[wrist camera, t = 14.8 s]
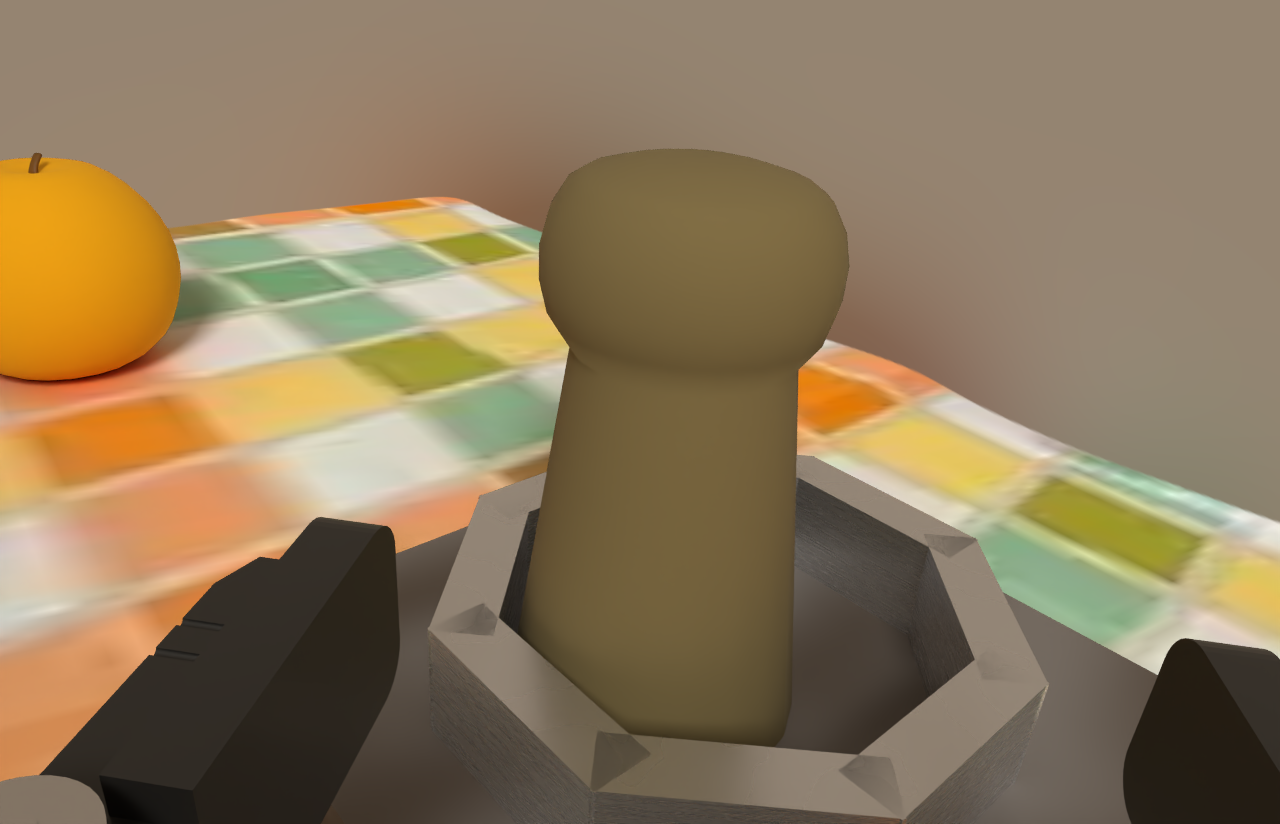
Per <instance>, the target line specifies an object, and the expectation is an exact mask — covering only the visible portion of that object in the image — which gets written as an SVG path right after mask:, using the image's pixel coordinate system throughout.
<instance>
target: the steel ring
mask: <svg viewBox="0 0 1280 824" xmlns="http://www.w3.org/2000/svg"><path fill="white" fill-rule="evenodd" d="M546 473H547V472H545V473H542V474H539V475H537V476H534V477H531V478H528V479H526V480H523V481H520V482H517V483H514V484H512V485H509V486H506V487H503V488H501V489H498V490H495V491H492V492H490V493H487V494H484V495H480V496H479V500H478V503H477V505H476V508H475V511H474V513H473V516H472V518H471V521H470V523H469V526H468V529H467V531H466V534H465V536H464V539H463V542H462V544H461V547H460V549H459V552H458V554H457V557H456V560H455V562H454V565H453V567H452V570H451V573H450V575H449V578H448V580H447V583H446V585H445V588H444V591H443V593H442V596H441V598H440V601H439V604H438V606H437V609H436V611H435V614H434V616H433V619H432V622H431V624H430V627H428V655H429V684H430V712H431V729H432V732H434V733H435V734H436V735H437V736H438V737H439V738H440V739H441V740H442V742H443V743H444V744H445V745H446V746H447V747H448V748H449V749H450V751H451V752H452V753H453V754H454V755H455V756H456V757H457V758H458V759H459V761H460V762H461V763H462V764H463V765H464V766H465V767H466V768H467V770H468V771H469V772H470V773H471V774H472V775H473V776H474V777H475V778H476V780H477V781H478V782H479V783H480V784H481V785H482V786H483V787H484V788H485V790H486V791H487V792H488V793H489V794H490V795H491V796H492V797H493V799H494V800H495V801H496V802H497V803H498V804H499V805H500V806H501V807H502V809H503V810H504V811H505V812H506V813H507V814H508V815H509V816H510V818H511V819H512V820H513V821H514V822H515V823H516V824H974V823H975V822H976V821H977V820H978V819H979V818H980V817H981V816H982V815H983V814H984V813H985V811H986V810H987V809H988V808H989V807H990V806H991V805H992V804H993V803H994V802H995V801H996V800H997V799H998V798H999V797H1000V796H1001V795H1002V794H1003V793H1004V792H1005V791H1006V790H1007V789H1008V788H1009V787H1010V786H1011V785H1012V784H1015V781H1016V778H1017V775H1018V773H1019V770H1020V767H1021V764H1022V761H1023V758H1024V755H1025V752H1026V750H1027V747H1028V744H1029V741H1030V738H1031V735H1032V732H1033V729H1034V727H1035V724H1036V721H1037V718H1038V715H1039V712H1040V709H1041V706H1042V704H1043V701H1044V698H1045V695H1046V692H1047V689H1048V686H1049V682H1047V680H1046V678H1045V676H1044V674H1043V672H1042V670H1041V668H1040V666H1039V664H1038V662H1037V660H1036V658H1035V656H1034V654H1033V652H1032V650H1031V648H1030V646H1029V644H1028V642H1027V640H1026V638H1025V636H1024V634H1023V632H1022V630H1021V628H1020V626H1019V624H1018V622H1017V620H1016V618H1015V616H1014V614H1013V612H1012V610H1011V608H1010V606H1009V604H1008V602H1007V600H1006V598H1005V596H1004V594H1003V592H1002V590H1001V588H1000V586H999V584H998V582H997V580H996V578H995V576H994V574H993V572H992V570H991V568H990V566H989V564H988V562H987V560H986V558H985V556H984V554H983V552H982V550H981V548H980V546H979V544H978V542H977V541H978V540H977V539H976V538H973V537H971V536H969V535H967V534H965V533H963V532H961V531H959V530H957V529H955V528H953V527H951V526H949V525H947V524H945V523H944V522H942V521H940V520H938V519H936V518H934V517H932V516H930V515H928V514H926V513H924V512H922V511H920V510H918V509H916V508H914V507H912V506H910V505H908V504H906V503H904V502H902V501H900V500H898V499H896V498H894V497H892V496H890V495H888V494H886V493H884V492H882V491H880V490H878V489H876V488H874V487H872V486H870V485H868V484H866V483H865V482H863V481H861V480H859V479H857V478H855V477H853V476H851V475H849V474H847V473H845V472H843V471H841V470H839V469H837V468H835V467H833V466H831V465H829V464H827V463H825V462H823V461H821V460H819V459H817V458H815V457H814V456H803V455H797V460H796V509H795V559H794V566H795V567H796V568H798V569H800V570H801V571H803V572H805V573H806V574H808V575H809V576H811V577H813V578H814V579H816V580H818V581H819V582H821V583H822V584H824V585H826V586H827V587H829V588H831V589H832V590H834V591H836V592H837V593H839V594H840V595H842V596H844V597H845V598H847V599H849V600H850V601H852V602H854V603H855V604H857V605H858V606H860V607H862V608H863V609H865V610H867V611H868V612H870V613H872V614H873V615H875V616H876V617H878V618H880V619H881V620H883V621H885V622H886V623H888V624H889V625H891V626H893V627H894V628H896V629H898V630H899V631H901V632H903V633H904V634H906V635H907V638H908V641H909V644H910V647H911V650H912V653H913V656H914V659H915V663H916V666H917V669H918V672H919V675H920V678H921V681H922V684H923V687H924V690H925V693H926V696H927V699H926V700H925V701H924V702H922V703H921V704H920V705H919V706H917V707H916V708H915V709H914V710H912V711H911V712H910V713H909V714H908V715H906V716H905V717H904V718H903V719H901V720H900V721H899V722H898V723H897V724H895V725H894V726H893V727H892V728H890V729H889V730H888V731H887V732H886V733H884V734H883V735H882V736H881V737H879V738H878V739H877V740H876V741H874V742H873V743H872V744H871V745H870V746H868V747H867V748H866V749H865V750H863V751H862V752H861V753H860V754H859V755H854V754H842V753H831V752H820V751H809V750H798V749H786V748H775V747H764V746H753V745H742V744H730V743H719V742H708V741H697V740H686V739H674V738H663V737H652V736H641V735H630V734H629V733H627V732H626V731H625V730H624V729H623V728H622V727H621V726H620V725H618V724H617V723H616V722H615V721H614V720H613V719H612V718H611V717H609V716H608V715H607V714H606V713H605V712H604V711H603V710H602V709H601V708H599V707H598V706H597V705H596V704H595V703H594V702H593V701H592V700H590V699H589V698H588V697H587V696H586V695H585V694H584V693H583V692H581V691H580V690H579V689H578V688H577V687H576V686H575V685H574V684H572V683H571V682H570V681H569V680H568V679H567V678H566V677H565V676H563V675H562V674H561V673H560V672H559V671H558V670H557V669H556V668H555V667H553V666H552V665H551V664H550V663H549V662H548V661H547V660H546V659H544V658H543V657H542V656H541V655H540V654H539V653H538V652H537V651H535V650H534V649H533V648H532V647H531V646H530V645H529V644H528V643H526V642H525V641H524V640H523V639H522V638H521V637H520V636H519V635H518V634H517V632H518V627H519V621H520V616H521V610H522V605H523V599H524V594H525V588H526V583H527V577H528V572H529V566H530V561H531V556H532V550H533V545H534V539H535V534H536V528H537V523H538V517H539V512H540V506H541V501H542V495H543V490H544V484H545V479H546Z"/></svg>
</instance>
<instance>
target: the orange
mask: <svg viewBox="0 0 1280 824" xmlns="http://www.w3.org/2000/svg"><path fill="white" fill-rule="evenodd" d="M41 157H42V154H40V153H34V155H33V157H32V158H18V159H10V160H3V161H0V374H3V375H7V376H12V377H17V378H22V379H27V380H62V379H75V378H80V377H86V376H91V375H97V374H100V373H104V372H107V371H110V370H114V369H117V368H119V367H121V366H123V365H126V364H128V363H130V362H132V361H134V360H135V359H137V358H139V357H141V356H142V355H144V354H145V353H146V352H148V351H149V350H150V349H151V348H152V347H153V346H154V345H155V344H156V343H157V342H158V341H159V340H160V339H161V338H162V337H163V336H164V335H165V334H166V332H167V330H168V328H169V326H170V325H171V323H172V321H173V318H174V314H175V311H176V307H177V303H178V298H179V291H180V282H181V273H180V262H179V258H178V253H177V249H176V246H175V243H174V241H173V239H172V237H171V234H170V232H169V230H168V228H167V227H166V225H165V224H164V222H163V221H162V219H161V217H160V216H159V215H158V213H157V212H156V211H155V210H154V209H153V208H152V207H151V205H149V203H148V202H147V201H146V200H145V199H144V198H143V197H141V196H140V195H139V194H138V193H137V192H136V191H135V190H133V189H132V188H131V187H130V186H129V185H127V184H126V183H125V182H123V181H122V180H121V179H119V178H117V177H116V176H114V175H113V174H111V173H110V172H108V171H105V170H103V169H101V168H98V167H97V166H94V165H92V164H89V163H86V162H83V161H77V160H70V159H57V158H41Z"/></svg>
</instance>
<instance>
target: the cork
mask: <svg viewBox="0 0 1280 824" xmlns="http://www.w3.org/2000/svg"><path fill="white" fill-rule="evenodd" d="M848 271H849V255H848V241H847V232H846V230H845V228H844V225H843V222H842V220H841V218H840V215H839V212H838V210H837V208H836V205H835V203H834V201H833V200H832V199H831V198H830V196H829V195H828V194H827V193H826V192H825V191H824V190H823V189H821V188H820V187H819V186H818V185H816V184H815V183H814V182H813V181H812V180H810V179H808V178H806V177H804V176H802V175H800V174H798V173H796V172H794V171H791V170H788V169H785V168H782V167H779V166H775V165H773V164H770V163H767V162H763V161H760V160H757V159H753V158H750V157H745V156H740V155H735V154H729V153H724V152H717V151H709V150H697V149H657V150H656V149H655V150H644V151H636V152H629V153H622V154H617V155H612V156H606V157H601V158H599V159H597V160H595V161H592V162H590V163H589V164H587V165H585V166H583V167H581V168H579V169H578V170H576V171H574V172H572V173H571V174H569V176H568V177H567V179H566V180H565V182H564V183H563V185H562V186H561V188H560V189H559V191H558V193H557V194H556V195H555V197H554V199H553V200H552V203H551V205H550V209H549V211H548V215H547V218H546V222H545V226H544V229H543V233H542V236H541V240H540V243H539V281H540V286H541V290H542V294H543V298H544V303H545V307H546V311H547V314H548V315H549V317H550V318H551V320H552V321H553V323H554V325H555V326H556V328H557V329H558V331H559V332H560V334H561V335H562V337H563V338H564V340H565V341H566V343H567V344H568V345H569V353H568V358H567V364H566V369H565V375H564V380H563V386H562V391H561V397H560V402H559V408H558V413H557V419H556V424H555V430H554V435H553V440H552V446H551V451H550V457H549V462H548V468H547V473H546V479H545V484H544V490H543V495H542V501H541V506H540V512H539V517H538V523H537V528H536V534H535V539H534V545H533V550H532V556H531V561H530V566H529V572H528V577H527V583H526V588H525V594H524V599H523V605H522V610H521V616H520V621H519V627H518V632H517V634H518V635H519V636H520V637H521V638H522V639H523V640H524V641H525V642H526V643H528V644H529V645H530V646H531V647H532V648H533V649H534V650H535V651H537V652H538V653H539V654H540V655H541V656H542V657H543V658H544V659H546V660H547V661H548V662H549V663H550V664H551V665H552V666H553V667H555V668H556V669H557V670H558V671H559V672H560V673H561V674H562V675H563V676H565V677H566V678H567V679H568V680H569V681H570V682H571V683H572V684H574V685H575V686H576V687H577V688H578V689H579V690H580V691H581V692H583V693H584V694H585V695H586V696H587V697H588V698H589V699H590V700H592V701H593V702H594V703H595V704H596V705H597V706H598V707H599V708H601V709H602V710H603V711H604V712H605V713H606V714H607V715H608V716H609V717H611V718H612V719H613V720H614V721H615V722H616V723H617V724H618V725H620V726H621V727H622V728H623V729H624V730H625V731H626V732H627V733H629V734H630V735H641V736H652V737H663V738H674V739H686V740H697V741H708V742H719V743H730V744H742V745H753V746H764V747H775V746H776V745H777V744H778V742H779V741H780V740H781V739H782V738H783V736H784V733H785V729H786V725H787V721H788V717H789V713H790V709H791V705H792V658H793V609H794V559H795V509H796V460H797V410H798V370H799V369H800V368H801V367H802V366H803V365H804V364H805V363H806V362H807V361H808V360H809V359H810V358H811V357H812V356H813V355H814V354H815V353H816V352H817V351H818V350H819V349H820V348H822V346H823V344H824V342H825V339H826V337H827V335H828V333H829V330H830V329H831V326H832V324H833V322H834V320H835V318H836V315H837V313H838V311H839V308H840V306H841V303H842V301H843V296H844V291H845V286H846V281H847V276H848Z"/></svg>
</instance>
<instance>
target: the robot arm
mask: <svg viewBox="0 0 1280 824" xmlns="http://www.w3.org/2000/svg"><path fill="white" fill-rule="evenodd" d="M399 652H400V628H399V609H398V590H397V570H396V551H395V540H394V535H393V533H392V531H391V529H390V528H389V527H388V526H382V525H375V524H367V523H360V522H353V521H345V520H338V519H331V518H324V517H319V518H316V519H314V520H313V521H312V522H311V523H310V524H309V525H308V526H307V527H306V528H305V530H304V531H303V532H302V533H301V534H300V536H299V537H298V538H297V539H296V540H295V541H294V543H293V544H292V545H291V546H290V547H289V549H288V550H287V551H286V552H285V553H284V555H283V556H282V557H281V558H280V559H272V558H265V557H259V558H257V559H255V560H254V561H252V562H250V563H249V564H247V565H245V566H243V567H242V568H240V569H238V570H237V571H235V572H233V573H231V574H230V575H228V576H226V577H225V578H223V579H221V580H219V581H218V582H216V583H214V584H213V585H212V587H211V588H210V589H209V590H208V591H207V592H206V593H205V594H204V595H203V596H202V598H201V599H200V600H199V601H198V602H197V603H196V604H195V605H194V606H193V607H192V608H191V610H190V611H189V612H188V613H187V614H186V615H185V616H184V617H183V621H182V624H181V626H179V625H176V626H175V627H174V628H173V629H172V630H171V631H170V633H169V634H168V635H167V636H166V637H165V638H164V639H163V640H162V641H161V642H160V644H159V645H158V646H157V647H156V652H155V654H154V656H152V655H149V656H148V657H147V658H146V659H145V660H144V661H143V662H142V663H141V664H140V665H139V667H138V668H137V669H136V670H135V671H134V672H133V673H132V674H131V675H130V676H129V678H128V679H127V680H126V681H125V682H124V683H123V684H122V685H121V686H120V687H119V689H118V690H117V691H116V692H115V693H114V694H113V695H112V696H111V697H110V698H109V699H108V701H107V702H106V703H105V704H104V705H103V706H102V707H101V708H100V709H99V710H98V712H97V713H96V714H95V715H94V716H93V717H92V718H91V719H90V720H89V721H88V722H87V724H86V725H85V726H84V727H83V728H82V729H81V730H80V731H79V732H78V733H77V735H76V736H75V737H74V738H73V739H72V740H71V741H70V742H69V743H68V744H67V746H66V747H65V748H64V749H63V750H62V751H61V752H60V753H59V754H58V755H57V756H56V758H55V759H54V760H53V761H52V762H51V763H50V764H49V765H48V766H47V767H46V769H45V770H44V771H43V772H42V773H41V774H40V775H34V776H26V777H19V778H14V779H9V780H5V781H1V782H0V824H321V823H322V821H323V819H324V817H325V815H326V813H327V811H328V810H329V808H330V806H331V804H332V802H333V800H334V798H335V796H336V795H337V793H338V791H339V789H340V787H341V785H342V783H343V781H344V779H345V778H346V776H347V774H348V772H349V770H350V768H351V766H352V764H353V763H354V761H355V759H356V757H357V755H358V753H359V751H360V749H361V747H362V746H363V744H364V742H365V740H366V738H367V736H368V734H369V732H370V731H371V729H372V727H373V725H374V723H375V721H376V719H377V717H378V715H379V714H380V712H381V710H382V708H383V706H384V704H385V702H386V700H387V698H388V696H389V693H390V691H391V688H392V685H393V682H394V678H395V675H396V670H397V666H398V660H399ZM1123 792H1124V800H1125V805H1126V809H1127V813H1128V816H1129V819H1130V821H1131V824H1280V659H1279V658H1278V657H1277V656H1276V655H1275V654H1274V653H1272V652H1271V651H1268V650H1266V649H1259V648H1252V647H1245V646H1238V645H1230V644H1223V643H1216V642H1209V641H1201V640H1194V639H1187V638H1185V639H1180V640H1179V641H1177V642H1176V643H1174V644H1173V645H1172V647H1171V648H1170V650H1169V651H1168V653H1167V655H1166V657H1165V659H1164V662H1163V664H1162V667H1161V669H1160V672H1159V674H1158V677H1157V679H1156V681H1155V684H1154V686H1153V689H1152V691H1151V694H1150V696H1149V698H1148V701H1147V703H1146V706H1145V708H1144V711H1143V713H1142V715H1141V718H1140V720H1139V723H1138V725H1137V728H1136V730H1135V732H1134V735H1133V737H1132V740H1131V742H1130V745H1129V747H1128V750H1127V753H1126V757H1125V761H1124V768H1123Z"/></svg>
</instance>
